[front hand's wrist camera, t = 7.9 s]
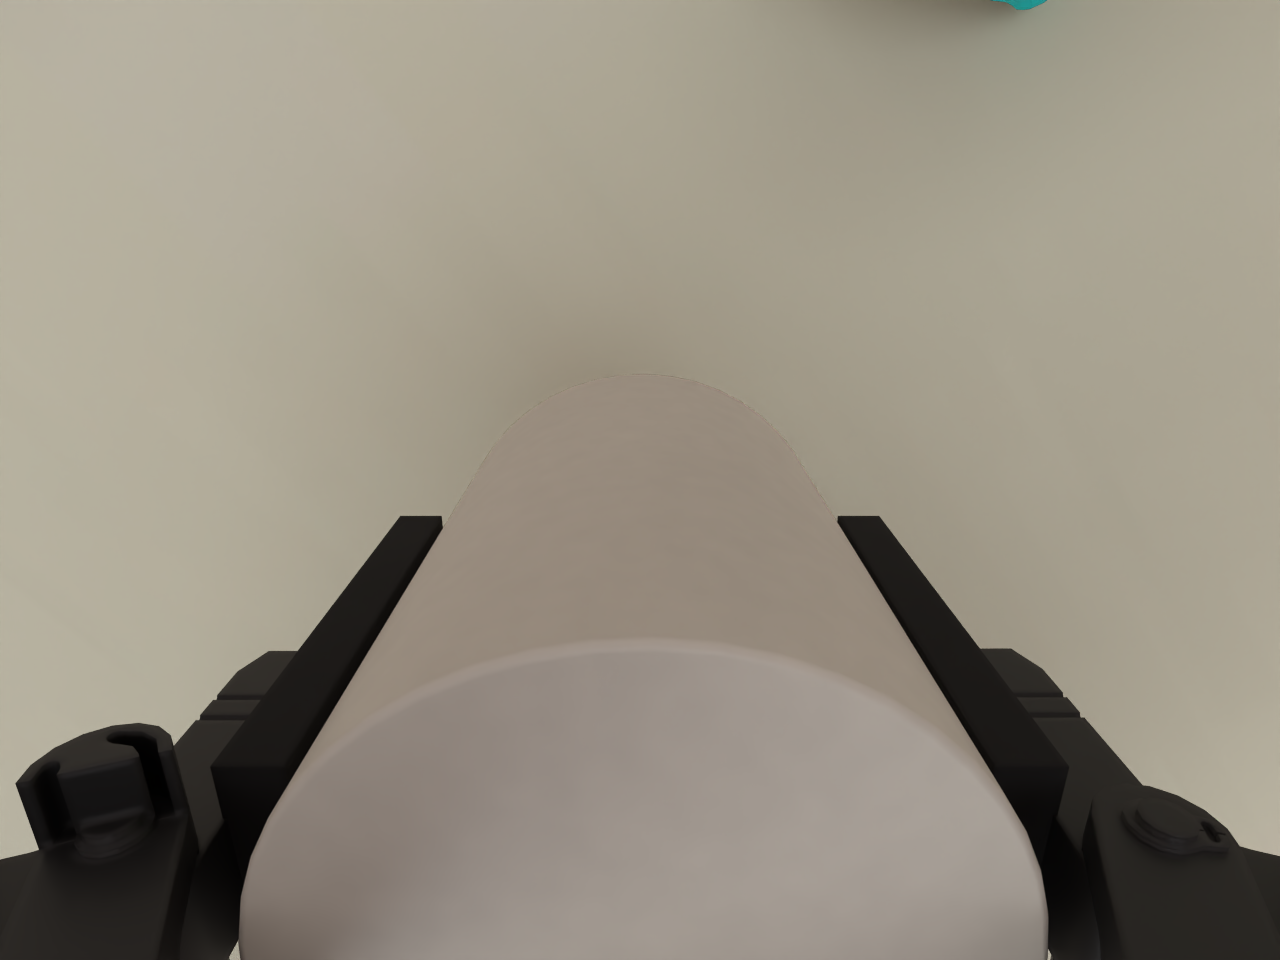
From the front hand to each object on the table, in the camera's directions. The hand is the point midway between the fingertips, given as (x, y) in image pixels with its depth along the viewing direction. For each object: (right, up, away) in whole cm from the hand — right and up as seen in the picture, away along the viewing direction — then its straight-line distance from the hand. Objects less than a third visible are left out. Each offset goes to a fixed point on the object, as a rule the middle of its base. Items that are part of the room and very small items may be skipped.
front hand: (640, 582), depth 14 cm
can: (0, +1, +1) cm, 1 cm away
